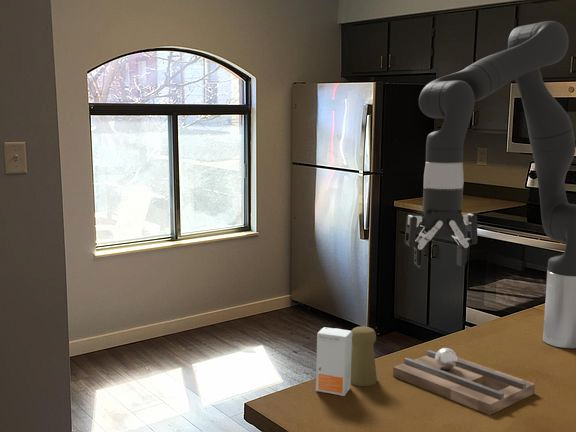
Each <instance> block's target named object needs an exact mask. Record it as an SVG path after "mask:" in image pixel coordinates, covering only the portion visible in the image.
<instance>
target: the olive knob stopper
mask: <svg viewBox="0 0 576 432" xmlns="http://www.w3.org/2000/svg"><path fill="white" fill-rule="evenodd" d="M351 331H352V352H351V385H353V386H357V387H358V386H359V387H369V386H373V385H376V383H377V382H378V378H377V377H378V376H377V368H376V359H375V350H374V344H375V343H376V341H377V333H376V331H375V329H374V328H371V327H369V326H362V325H361V326H356V327H354V328H352V329H351Z"/></svg>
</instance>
